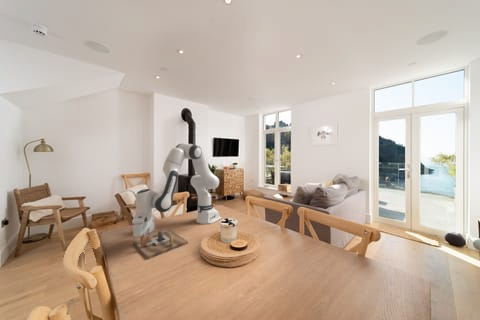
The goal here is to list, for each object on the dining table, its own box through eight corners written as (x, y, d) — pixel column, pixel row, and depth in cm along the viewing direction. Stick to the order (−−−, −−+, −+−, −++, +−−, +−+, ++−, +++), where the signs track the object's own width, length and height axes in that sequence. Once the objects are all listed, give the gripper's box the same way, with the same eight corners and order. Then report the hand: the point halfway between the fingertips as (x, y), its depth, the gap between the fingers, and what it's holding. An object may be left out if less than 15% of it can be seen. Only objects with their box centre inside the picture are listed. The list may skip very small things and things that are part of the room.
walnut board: (170, 232, 130) (170, 221, 130) (187, 243, 114) (188, 231, 114) (133, 243, 112) (133, 232, 112) (147, 259, 96) (148, 245, 96)
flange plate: (164, 236, 119) (164, 227, 119) (170, 240, 113) (170, 231, 113) (138, 244, 108) (138, 234, 108) (144, 250, 102) (144, 239, 102)
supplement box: (149, 233, 127) (149, 216, 127) (139, 233, 127) (139, 215, 127) (154, 229, 134) (154, 212, 134) (144, 229, 134) (144, 212, 134)
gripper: (144, 210, 121) (144, 231, 121) (130, 221, 101) (130, 246, 101) (154, 210, 122) (154, 230, 122) (142, 221, 102) (142, 245, 102)
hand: (143, 237), depth 111 cm, fingers closed
